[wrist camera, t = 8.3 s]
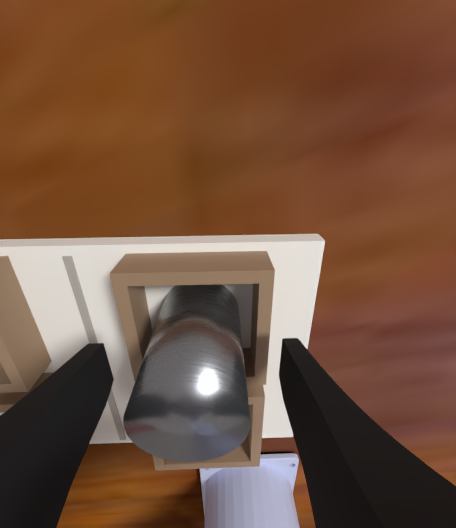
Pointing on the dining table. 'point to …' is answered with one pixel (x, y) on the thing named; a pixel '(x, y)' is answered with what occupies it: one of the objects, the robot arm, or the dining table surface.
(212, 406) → the steel pin
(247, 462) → the white board with compartments
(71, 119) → the dining table surface
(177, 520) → the dining table surface
